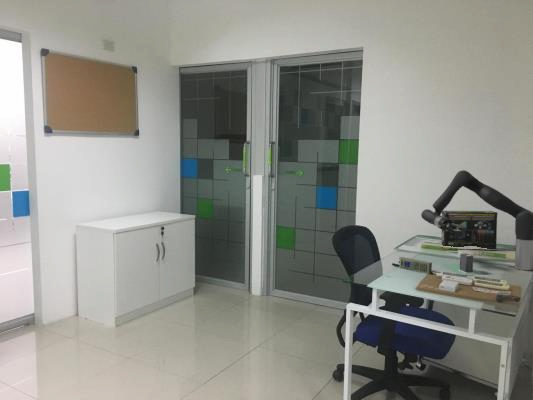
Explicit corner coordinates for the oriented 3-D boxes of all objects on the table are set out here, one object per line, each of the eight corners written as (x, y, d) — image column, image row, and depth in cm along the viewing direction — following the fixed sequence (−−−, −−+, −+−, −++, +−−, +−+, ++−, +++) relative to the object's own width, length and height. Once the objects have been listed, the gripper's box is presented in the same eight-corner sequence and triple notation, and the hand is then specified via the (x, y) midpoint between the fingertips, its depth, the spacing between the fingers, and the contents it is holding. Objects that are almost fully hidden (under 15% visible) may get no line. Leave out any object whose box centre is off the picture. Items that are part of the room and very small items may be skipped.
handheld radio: (428, 274, 250) (390, 266, 269) (432, 274, 252) (393, 266, 271) (429, 262, 250) (391, 255, 269) (432, 262, 252) (394, 255, 271)
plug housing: (459, 269, 255) (460, 253, 255) (466, 269, 256) (466, 253, 255) (466, 272, 249) (466, 256, 248) (472, 272, 249) (473, 255, 249)
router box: (491, 248, 326) (493, 210, 324) (497, 251, 315) (499, 212, 313) (439, 246, 332) (440, 210, 329) (443, 249, 321) (444, 211, 318)
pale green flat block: (438, 266, 269) (439, 258, 268) (461, 265, 270) (461, 257, 270) (458, 275, 247) (459, 266, 246) (483, 275, 248) (483, 265, 248)
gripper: (433, 216, 275) (448, 224, 259) (455, 218, 278) (471, 225, 262) (431, 228, 276) (446, 236, 261) (452, 229, 279) (468, 237, 263)
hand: (458, 230), depth 261 cm, fingers open, 8 cm apart
